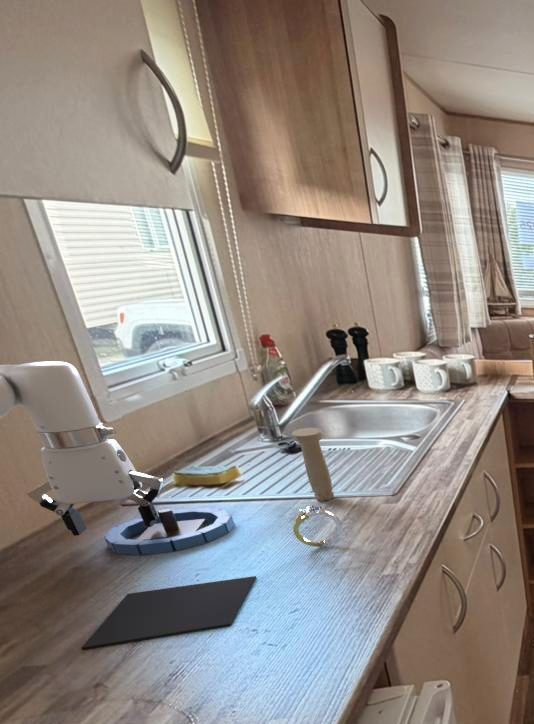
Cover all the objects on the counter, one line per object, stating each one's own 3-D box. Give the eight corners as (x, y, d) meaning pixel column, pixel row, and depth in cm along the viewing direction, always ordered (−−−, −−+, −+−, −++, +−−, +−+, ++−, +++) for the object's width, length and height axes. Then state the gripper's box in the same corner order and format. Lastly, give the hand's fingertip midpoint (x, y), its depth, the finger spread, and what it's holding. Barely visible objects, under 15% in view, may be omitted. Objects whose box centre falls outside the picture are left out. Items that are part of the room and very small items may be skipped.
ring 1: (92, 561, 109) (87, 550, 108) (131, 524, 123) (127, 514, 122) (219, 546, 116) (215, 536, 115) (242, 512, 130) (239, 503, 129)
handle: (310, 505, 135) (291, 436, 129) (312, 495, 140) (293, 429, 133) (338, 502, 137) (320, 434, 131) (339, 492, 142) (321, 426, 136)
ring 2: (298, 553, 115) (286, 512, 112) (301, 546, 118) (289, 506, 114) (345, 546, 118) (334, 507, 115) (346, 540, 121) (335, 501, 118)
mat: (82, 650, 87) (81, 647, 87) (128, 595, 100) (127, 593, 100) (231, 625, 94) (230, 623, 94) (256, 578, 107) (255, 575, 106)
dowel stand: (137, 546, 114) (126, 521, 112) (153, 529, 121) (143, 505, 119) (195, 540, 118) (185, 515, 116) (208, 523, 124) (199, 500, 122)
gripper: (149, 426, 115) (185, 513, 122) (14, 436, 107) (61, 527, 115) (133, 438, 109) (172, 528, 116) (-11, 448, 101) (40, 544, 109)
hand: (117, 528), depth 115 cm, fingers open, 9 cm apart
